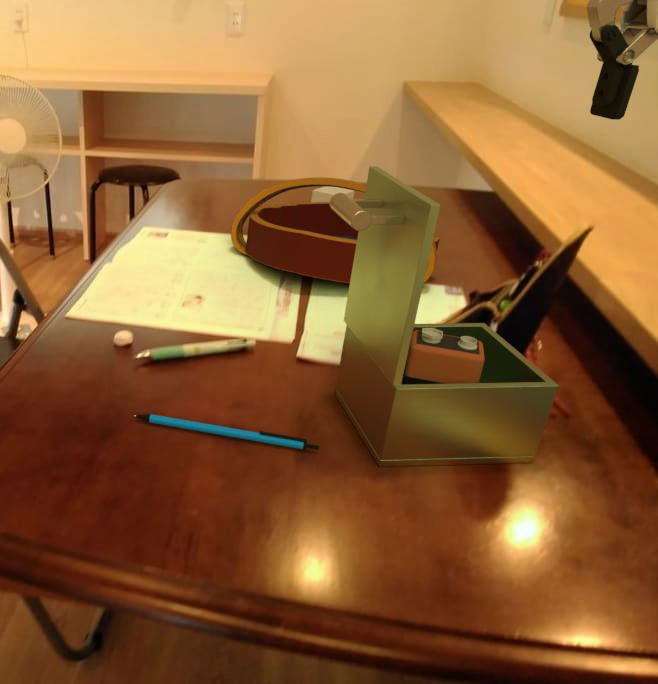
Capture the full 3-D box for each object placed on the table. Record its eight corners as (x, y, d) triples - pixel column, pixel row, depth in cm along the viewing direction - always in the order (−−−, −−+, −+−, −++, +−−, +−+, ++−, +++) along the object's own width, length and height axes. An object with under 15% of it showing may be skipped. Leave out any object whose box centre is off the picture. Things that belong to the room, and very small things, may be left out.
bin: (465, 391, 80) (484, 322, 76) (533, 462, 68) (559, 385, 64) (334, 393, 78) (346, 324, 74) (378, 467, 66) (396, 388, 62)
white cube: (349, 220, 140) (354, 190, 137) (335, 226, 136) (339, 196, 133) (323, 213, 143) (327, 185, 141) (308, 219, 139) (312, 190, 137)
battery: (396, 402, 75) (414, 320, 71) (462, 416, 73) (486, 332, 69) (393, 422, 72) (412, 337, 67) (463, 437, 70) (488, 350, 65)
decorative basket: (450, 280, 117) (473, 191, 112) (402, 311, 94) (427, 201, 89) (270, 242, 135) (283, 163, 130) (193, 260, 112) (204, 166, 107)
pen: (318, 454, 68) (319, 444, 67) (133, 421, 72) (133, 412, 72) (318, 448, 69) (320, 439, 68) (135, 417, 73) (135, 407, 72)
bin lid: (377, 166, 67) (321, 165, 66) (441, 204, 55) (372, 204, 54) (350, 320, 74) (299, 321, 74) (401, 384, 62) (341, 385, 62)
